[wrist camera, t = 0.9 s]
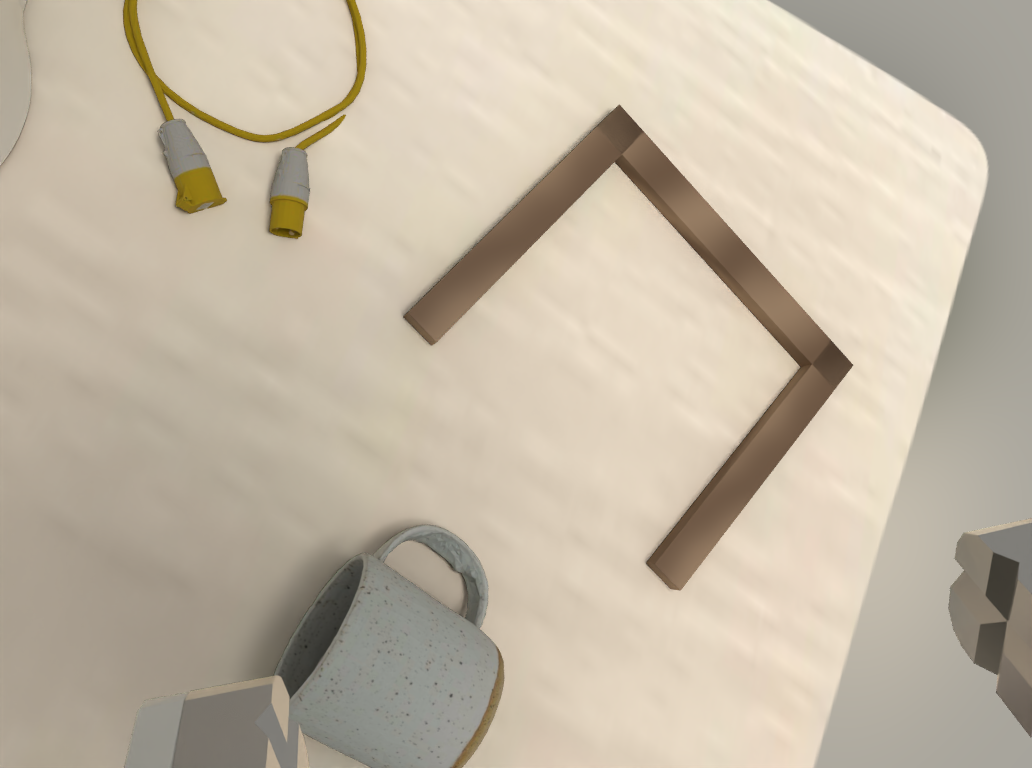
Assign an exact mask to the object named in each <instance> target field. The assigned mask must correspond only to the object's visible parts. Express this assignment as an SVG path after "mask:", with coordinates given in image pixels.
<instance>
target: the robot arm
mask: <svg viewBox="0 0 1032 768" xmlns="http://www.w3.org/2000/svg"><path fill="white" fill-rule="evenodd" d="M26 2H27V0H0V165H1V164H2V163H3V161H4V160H5V159H6V157H7V156H8V155H9V153H10V151H11V150H12V148H13V147H14V145H15V143H16V141H17V139H18V137H19V135H20V133H21V131H22V128H23V126H24V123H25V120H26V117H27V113H28V109H29V105H30V98H31V87H32V73H31V62H30V56H29V51H28V46H27V41H26V36H25V32H24V23H23V12H24V9H25V5H26ZM955 560H956V561H957V562H958V563H959V565H960V566H961V567H962V568H963V569H964V571H963V573H962V574H961V575H960V576H959V577H958V578H957V580H956V581H955V582H954V583H953V584H952V585H951V587H950V597H949V607H948V608H949V612H950V617H951V621H952V626H953V630H954V632H955V634H956V636H957V638H958V640H959V642H960V644H961V646H962V648H963V649H964V650H965V652H966V653H967V654H968V656H969V657H970V659H971V660H972V661H973V663H974V664H976V665H979V666H980V667H983V668H984V669H986V670H988V671H990V672H993V673H994V674H996V675H997V687H996V693H997V694H998V696H999V697H1000V698H1001V699H1002V701H1003V702H1004V703H1005V705H1006V706H1007V707H1008V708H1009V710H1010V711H1011V712H1012V714H1013V715H1014V716H1015V717H1016V719H1017V720H1018V721H1019V723H1020V724H1021V725H1022V727H1023V728H1024V729H1025V731H1026V732H1027V733H1028V734H1029V736H1030V737H1032V518H1030V519H1025V520H1020V521H1016V522H1011V523H1007V524H1002V525H997V526H993V527H988V528H984V529H979V530H974V531H970V532H965V533H963V535H962V536H961V538H960V539H959V541H958V542H957V547H956V553H955ZM288 716H289V695H288V692H287V690H286V687H285V685H284V682H283V680H282V677H280V676H277V675H275V676H269V677H264V678H258V679H253V680H247V681H242V682H236V683H231V684H225V685H220V686H214V687H209V688H203V689H198V690H192V691H190V692H187V693H181V694H175V695H170V696H164V697H159V698H153V699H147V700H145V701H144V703H143V704H142V706H141V707H140V709H139V710H138V712H137V715H136V719H135V723H134V727H133V732H132V736H131V740H130V744H129V748H128V753H127V757H126V761H125V765H124V768H309V760H308V754H307V750H306V745H305V741H304V737H303V734H302V731H301V728H300V725H299V723H297V722H295V721H293V720H292V719H290V718H288Z"/></svg>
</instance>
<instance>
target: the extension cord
mask: <svg viewBox="0 0 1032 768" xmlns="http://www.w3.org/2000/svg"><path fill="white" fill-rule="evenodd" d="M346 1H347V3H348V6H349V10H350V13H351V16H352V21H353V27H354V34H355V42H356V57H357V72H358V74H357V77H356V81H355V83H354V85H353V87H352V89H351V90H350V92H349V94H348V95H347V97H346V98H345V99H344V100H343V101H342V102H341V103H340V104H338V105H336V106H334V107H332V108H331V109H329V110H327V111H325V112H323V113H322V114H320V115H318V116H316V117H314V118H313V119H310V120H308V121H306V122H304V123H302V124H300V125H298V126H296V127H294V128H292V129H289V130H286V131H283V132H281V133H278V134H273V135H257V134H252V133H249V132H246V131H243V130H240V129H237V128H235V127H233V126H231V125H228V124H226V123H224V122H222V121H219V120H218V119H216V118H214V117H212V116H210V115H208V114H206V113H204V112H202V111H200V110H199V109H197V108H196V107H194V106H193V105H191V104H189V103H188V102H186V101H185V100H183V99H182V98H181V97H180V96H178V95H177V94H176V93H175V92H173V91H172V90H171V89H170V88H168V87H167V86H166V85H165V84H164V82H163V81H162V80H161V79H160V78H159V77H158V76H157V75H156V74H155V72H154V69H153V67H152V64H151V61H150V59H149V56H148V53H147V50H146V47H145V44H144V42H143V39H142V36H141V31H140V27H139V23H138V17H137V0H125V3H124V9H123V19H124V28H125V32H126V37H127V40H128V42H129V45H130V47H131V50H132V52H133V54H134V56H135V57H136V59H137V61H138V63H139V64H140V66H141V67H142V69H143V70H144V71H145V73H146V74H147V75H148V76H149V79H150V81H151V83H152V86H153V88H154V91H155V93H156V96H157V98H158V100H159V103H160V105H161V108H162V110H163V113H164V115H165V117H166V120H167V122H165V123H164V124H162V125H161V127H160V129H159V130H158V135H159V137H160V138H161V140H162V142H163V144H164V147H165V151H164V152H163V154H164V155H165V156H166V157H167V161H168V164H169V165H168V167H169V170H170V172H171V174H172V177H173V179H174V182H175V184H176V186H177V189H178V194H177V200H176V206H177V207H180V208H181V209H183V210H184V211H187V212H188V213H190V214H191V213H194V212H198V211H201V210H204V209H206V208H211V207H215V206H218V205H221V204H224V203H225V202H226V201H227V199H226V198H222V195H221V193H220V190H219V188H218V185H217V183H216V180H215V178H214V175H213V172H212V170H211V167H210V165H209V162H208V160H207V157H206V155H205V153H204V152H203V150H202V148H201V147H200V145H199V143H198V142H197V140H196V139H195V137H194V136H193V134H192V132H191V131H190V129H189V128H188V127H187V125H186V124H185V121H184V120H183V119H174V118H173V115H172V113H171V110H170V108H169V105H168V103H167V101H166V98H165V96H164V93H165V94H166V95H167V96H168V97H170V98H171V99H172V100H173V101H174V102H176V103H177V104H178V105H179V106H181V107H182V108H184V109H185V110H187V111H188V112H190V113H192V114H193V115H195V116H196V117H198V118H200V119H202V120H204V121H206V122H208V123H210V124H212V125H213V126H215V127H217V128H220V129H222V130H224V131H227V132H229V133H232V134H234V135H236V136H239V137H242V138H245V139H248V140H252V141H258V142H270V141H279V140H282V139H284V138H287V137H290V136H293V135H296V134H298V133H300V132H302V131H304V130H306V129H308V128H310V127H312V126H314V125H316V124H318V123H320V122H322V121H325V120H327V119H329V118H331V117H333V116H335V115H336V114H337V113H338V112H340V111H342V110H344V109H345V108H346V107H347V106H348V105H350V104H351V103H352V102H353V101H354V99H355V98H356V96H357V95H358V93H359V92H360V89H361V86H362V84H363V81H364V77H365V70H366V42H365V34H364V29H363V25H362V21H361V16H360V13H359V10H358V8H357V5H356V2H355V0H346ZM134 37H135V38H134ZM163 92H164V93H163ZM345 116H346V115H343V116H341V117H340V118H338V119H337V120H336V121H334V122H333V123H331V124H330V125H328V126H327V127H326V128H324V129H322V130H321V131H319V132H317V133H316V134H314V135H312V136H310V137H309V138H307V139H305V140H304V141H302V142H301V143H300V144H298V145H297V146H296V147H295V148H294V147H288V148H285V149H283V152H282V157H281V160H280V162H279V165H278V168H277V171H276V174H275V178H274V181H273V184H272V188H271V197H270V204H271V205H272V212H271V220H270V228H269V231H270V232H271V233H273V234H274V235H277V236H282V237H288V238H296V239H298V237H301V236H302V228H303V220H304V212H305V211H306V210H307V209H308V200H309V192H310V188H309V176H308V164H307V156H308V155H307V153H306V152H305V151H304V149H305V148H306V147H308V146H309V145H311V144H312V143H314V142H316V141H317V140H319V139H321V138H323V137H324V136H326V135H328V134H329V133H331V132H332V131H333V130H334V129H335V128H337V127H338V126H339V125H340V123H341V122H342V121H343V120H344V118H345ZM160 131H161V132H162V133H160Z"/></svg>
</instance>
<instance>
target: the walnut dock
mask: <svg viewBox="0 0 1032 768" xmlns="http://www.w3.org/2000/svg"><path fill="white" fill-rule="evenodd" d="M614 162H616V164H617V165H618V166H619V167H620V168H621V169H622V170H623V171H624V172H625V173H626V175H627V176H628V177H629V178H630V179H631V180H632V181H633V182H634V183H635V184H636V186H637V187H638V188H639V189H640V190H641V191H642V192H643V193H644V194H645V195H646V197H647V198H648V199H649V200H650V201H651V202H652V203H653V204H654V205H655V206H656V208H657V209H658V210H659V211H660V212H661V213H662V214H663V215H664V216H665V217H666V219H667V220H668V221H669V222H670V223H671V224H672V225H673V226H674V227H675V228H676V230H677V231H678V232H679V233H680V234H681V235H682V236H683V237H684V238H685V239H686V241H687V242H688V243H689V244H690V245H691V246H692V247H693V248H694V249H695V250H696V252H697V253H698V254H699V255H700V256H701V257H702V258H703V259H704V260H705V261H706V263H707V264H708V265H709V266H710V267H711V268H712V269H713V270H714V271H715V272H716V274H717V275H718V276H719V277H720V278H721V279H722V280H723V281H724V282H725V283H726V285H727V286H728V287H729V288H730V289H731V290H732V291H733V292H734V293H735V294H736V296H737V297H738V298H739V299H740V300H741V301H742V302H743V303H744V304H745V305H746V307H747V308H748V309H749V310H750V311H751V312H752V313H753V314H754V315H755V316H756V318H757V319H758V320H759V321H760V322H761V323H762V324H763V325H764V326H765V327H766V329H767V330H768V331H769V332H770V333H771V334H772V335H773V336H774V337H775V338H776V340H777V341H778V342H779V343H780V344H781V345H782V346H783V347H784V348H785V349H786V351H787V352H788V353H789V354H790V355H791V356H792V357H793V358H794V359H795V360H796V362H797V363H798V364H799V365H800V366H801V368H800V369H799V371H798V372H797V373H796V374H795V376H794V377H793V378H792V379H791V381H790V382H789V383H788V384H787V386H786V387H785V388H784V390H783V391H782V392H781V393H780V395H779V396H778V397H777V398H776V400H775V401H774V402H773V403H772V405H771V406H770V407H769V408H768V410H767V411H766V412H765V414H764V415H763V416H762V417H761V419H760V420H759V421H758V422H757V424H756V425H755V426H754V427H753V429H752V430H751V431H750V432H749V434H748V435H747V436H746V438H745V439H744V440H743V441H742V443H741V444H740V445H739V446H738V448H737V449H736V450H735V451H734V453H733V454H732V455H731V456H730V458H729V459H728V460H727V462H726V463H725V464H724V465H723V467H722V468H721V469H720V470H719V472H718V473H717V474H716V475H715V477H714V478H713V479H712V480H711V482H710V483H709V484H708V486H707V487H706V488H705V489H704V491H703V492H702V493H701V494H700V496H699V497H698V498H697V499H696V501H695V502H694V503H693V504H692V506H691V507H690V508H689V509H688V511H687V512H686V513H685V515H684V516H683V517H682V518H681V520H680V521H679V522H678V523H677V525H676V526H675V527H674V528H673V530H672V531H671V532H670V533H669V535H668V536H667V537H666V539H665V540H664V541H663V542H662V544H661V545H660V546H659V547H658V549H657V550H656V551H655V552H654V554H653V555H652V556H651V557H650V559H649V560H648V561H647V563H646V564H647V565H648V566H649V567H650V568H651V569H652V570H653V571H654V572H655V573H656V574H657V575H658V576H659V577H660V578H661V579H662V580H663V581H664V582H665V583H666V584H667V585H668V586H669V587H670V588H671V589H674V590H681V589H682V588H683V587H684V585H685V584H686V583H687V581H688V580H689V579H690V578H691V576H692V575H693V574H694V572H695V571H696V570H697V568H698V567H699V566H700V565H701V563H702V562H703V561H704V559H705V558H706V557H707V555H708V554H709V553H710V551H711V550H712V549H713V548H714V546H715V545H716V544H717V542H718V541H719V540H720V538H721V537H722V536H723V535H724V533H725V532H726V531H727V529H728V528H729V527H730V525H731V524H732V523H733V521H734V520H735V519H736V518H737V516H738V515H739V514H740V512H741V511H742V510H743V508H744V507H745V506H746V505H747V503H748V502H749V501H750V499H751V498H752V497H753V495H754V494H755V493H756V491H757V490H758V489H759V488H760V486H761V485H762V484H763V482H764V481H765V480H766V478H767V477H768V476H769V475H770V473H771V472H772V471H773V469H774V468H775V467H776V465H777V464H778V463H779V461H780V460H781V459H782V458H783V456H784V455H785V454H786V452H787V451H788V450H789V448H790V447H791V446H792V445H793V443H794V442H795V441H796V439H797V438H798V437H799V435H800V434H801V433H802V431H803V430H804V429H805V428H806V426H807V425H808V424H809V422H810V421H811V420H812V418H813V417H814V416H815V415H816V413H817V412H818V411H819V409H820V408H821V407H822V405H823V404H824V403H825V401H826V400H827V399H828V398H829V396H830V395H831V394H832V392H833V391H834V390H835V388H836V387H837V386H838V385H839V383H840V382H841V381H842V379H843V378H844V377H845V375H846V374H847V373H848V371H849V370H850V369H851V368H852V366H853V364H852V363H851V362H850V361H849V360H848V359H847V358H846V356H845V355H844V354H843V353H842V352H841V351H840V350H839V349H838V348H837V346H836V345H835V344H834V343H833V342H832V341H831V340H830V339H829V338H828V336H827V335H826V334H825V333H824V332H823V331H822V330H821V329H820V328H819V326H818V325H817V324H816V323H815V322H814V321H813V320H812V319H811V317H810V316H809V315H808V314H807V313H806V312H805V311H804V310H803V309H802V307H801V306H800V305H799V304H798V303H797V302H796V301H795V300H794V299H793V297H792V296H791V295H790V294H789V293H788V292H787V291H786V290H785V289H784V287H783V286H782V285H781V284H780V283H779V282H778V281H777V280H776V278H775V277H774V276H773V275H772V274H771V273H770V272H769V271H768V270H767V268H766V267H765V266H764V265H763V264H762V263H761V262H760V261H759V260H758V258H757V257H756V256H755V255H754V254H753V253H752V252H751V251H750V250H749V248H748V247H747V246H746V245H745V244H744V243H743V242H742V241H741V239H740V238H739V237H738V236H737V235H736V234H735V233H734V232H733V231H732V229H731V228H730V227H729V226H728V225H727V224H726V223H725V222H724V221H723V219H722V218H721V217H720V216H719V215H718V214H717V213H716V212H715V211H714V209H713V208H712V207H711V206H710V205H709V204H708V203H707V202H706V200H705V199H704V198H703V197H702V196H701V195H700V194H699V193H698V192H697V190H696V189H695V188H694V187H693V186H692V185H691V184H690V183H689V182H688V180H687V179H686V178H685V177H684V176H683V175H682V174H681V173H680V171H679V170H678V169H677V168H676V167H675V166H674V165H673V164H672V163H671V161H670V160H669V159H668V158H667V157H666V156H665V155H664V154H663V153H662V151H661V150H660V149H659V148H658V147H657V146H656V145H655V144H654V143H653V141H652V140H651V139H650V138H649V137H648V136H647V135H646V134H645V132H644V131H643V130H642V129H641V128H640V127H639V126H638V125H637V124H636V122H635V121H634V120H633V119H632V118H631V117H630V116H629V115H628V114H627V112H626V111H625V110H624V109H623V108H622V107H621V106H620V105H618V106H617V107H616V108H615V109H614V110H613V111H612V112H611V113H610V114H609V115H608V116H607V117H606V118H605V119H604V120H603V121H602V122H601V123H600V124H599V125H598V126H597V127H596V128H595V129H594V130H593V131H592V132H591V133H590V134H589V135H587V136H586V137H585V138H584V139H583V140H582V141H581V142H580V143H579V144H578V145H577V146H576V147H575V148H574V149H573V150H572V151H571V152H570V153H569V154H568V155H567V156H566V157H565V158H564V159H563V160H562V161H561V162H560V163H559V164H558V165H557V166H556V167H555V168H554V169H553V170H552V171H551V172H550V173H549V174H548V175H547V176H546V177H545V178H544V179H543V180H542V181H541V182H540V183H539V184H538V185H537V186H536V187H535V188H534V189H533V190H532V191H531V192H530V193H529V194H528V195H527V196H526V197H525V198H523V199H522V200H521V201H520V202H519V203H518V204H517V205H516V206H515V207H514V208H513V209H512V210H511V211H510V212H509V213H508V214H507V215H506V216H505V217H504V218H503V219H502V220H501V221H500V222H499V223H498V224H497V225H496V226H495V227H494V228H493V229H492V230H491V231H490V232H489V233H488V234H487V235H486V236H485V237H484V238H483V239H482V240H481V241H480V242H479V243H478V244H477V245H476V246H475V247H474V248H473V249H472V250H471V251H470V252H469V253H468V254H467V255H466V256H465V257H464V258H463V259H462V260H461V261H459V262H458V263H457V264H456V265H455V266H454V267H453V268H452V269H451V270H450V271H449V272H448V273H447V274H446V275H445V276H444V277H443V278H442V279H441V280H440V281H439V282H438V283H437V284H436V285H435V286H434V287H433V288H432V289H431V290H430V291H429V292H428V293H427V294H426V295H425V296H424V297H423V298H422V299H421V300H420V301H419V302H418V303H417V304H416V305H415V306H414V307H413V308H412V309H411V310H410V311H409V312H408V313H407V314H406V315H405V316H404V318H405V319H406V320H407V321H408V322H409V323H410V324H411V325H412V326H413V327H414V328H415V329H416V330H417V331H418V332H419V333H420V334H421V335H422V336H423V337H424V338H425V339H426V340H427V341H428V342H429V343H430V344H431V345H433V344H435V343H436V342H437V341H438V340H439V339H440V338H441V337H442V336H443V335H444V334H445V333H446V332H447V331H448V330H449V329H450V328H451V327H452V326H453V325H454V324H455V323H456V322H457V321H458V320H459V319H460V318H461V317H462V316H463V315H464V314H465V313H466V312H467V311H468V310H469V309H470V308H471V307H472V306H473V305H474V304H475V303H476V302H477V301H478V300H479V299H480V298H481V297H482V296H483V295H484V294H485V293H486V292H487V291H488V290H489V289H490V288H491V287H492V285H493V284H494V283H495V282H496V281H497V280H498V279H499V278H500V277H501V276H502V275H503V274H504V273H505V272H506V271H507V270H508V269H509V268H510V267H511V266H512V265H513V264H514V263H515V262H516V261H517V260H518V259H519V258H520V257H521V256H522V255H523V254H524V253H525V252H526V251H527V250H528V249H529V248H530V247H531V246H532V245H533V244H534V243H535V242H536V241H537V240H538V239H539V238H540V237H541V236H542V235H543V234H544V233H545V232H546V231H547V230H548V229H549V228H550V227H551V226H552V225H553V224H554V223H555V222H556V221H557V220H558V219H559V218H560V217H561V216H562V215H563V213H564V212H565V211H566V210H567V209H568V208H569V207H570V206H571V205H572V204H573V203H574V202H575V201H576V200H577V199H578V198H579V197H580V196H581V195H582V194H583V193H584V192H585V191H586V190H587V189H588V188H589V187H590V186H591V185H592V184H593V183H594V182H595V181H596V180H597V179H598V178H599V177H600V176H601V175H602V174H603V173H604V172H605V171H606V170H607V169H608V168H609V167H610V166H611V165H612V164H613V163H614Z"/></svg>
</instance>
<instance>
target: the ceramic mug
mask: <svg viewBox="0 0 1032 768" xmlns="http://www.w3.org/2000/svg"><path fill="white" fill-rule="evenodd" d="M408 540H415V541H418V542H421V543H425V544H426V545H428V546H429V547H431V548H432V549H433V550H434V551H436V552H437V553H438V554H440V555H441V556H442V557H443V558H445V559H446V560H447V561H448V562H449V563H450V564H451V565H452V566H453V568H454V570H455V571H457V572H460V573H462V575H463V577H464V579H465V582H466V586H467V591H468V603H467V613H466V617H465V618H463V617H462V616H460V615H459V614H457V613H456V612H454V611H452V610H451V609H449V608H447V607H446V606H444V605H442V604H441V603H439V602H438V601H437V600H435V599H434V598H432V597H431V596H430V595H428V594H427V593H425V592H424V591H423V590H421V589H420V588H418V587H417V586H416V585H414V584H413V583H411V582H410V581H408V580H407V579H405V578H404V577H402V576H401V575H399V574H398V573H397V572H395V571H394V570H392V569H391V568H390V567H388V566H387V565H386V564H384V561H385V558H386V557H387V555H388V554H389V553H390V552H391V551H392V550H393V549H394V548H396V547H397V546H398V545H399V544H401V543H402V542H404V541H408ZM487 605H488V582H487V579H486V575H485V572H484V569H483V567H482V565H481V563H480V561H479V559H478V558H477V556H476V555H475V554H474V552H473V551H472V550H471V549H470V548H469V547H468V545H467V544H466V543H465V542H464V541H462V540H461V539H460V538H458V537H457V536H456V535H454V534H453V533H451V532H449V531H448V530H446V529H443V528H441V527H438V526H433V525H420V526H415V527H412V528H409V529H406V530H404V531H402V532H400V533H398V534H397V535H395V536H394V537H392V538H391V539H390V540H388V541H387V542H386V543H385V544H384V545H382V546H381V547H380V548H379V549H378V550H377V551H376V552H375V553H374V555H373V556H372V555H370V554H368V553H361V554H359V555H356V556H355V557H353V558H352V559H350V560H349V561H348V562H347V563H346V564H345V565H344V566H343V567H342V568H341V569H340V570H339V571H338V572H336V574H335V575H334V576H333V578H332V579H331V580H330V581H329V582H328V583H327V584H326V586H325V587H324V588H323V589H322V591H321V592H320V594H319V595H318V597H317V599H316V600H315V602H314V603H313V605H312V606H311V607H310V609H309V610H308V611H307V613H306V614H305V616H304V617H303V619H302V621H301V622H300V624H299V626H298V628H297V629H296V631H295V633H294V634H293V636H292V637H291V639H290V641H289V644H288V646H287V647H286V649H285V651H284V653H283V656H282V658H281V660H280V662H279V664H278V666H277V668H276V671H275V673H274V676H275V675H277V676H280V677H282V680H283V682H284V685H285V687H286V690H287V692H288V695H289V716H288V718H290V719H292V720H293V721H295V722H297V723H299V725H300V728H301V731H302V733H304V734H306V735H308V736H309V737H311V738H313V739H315V740H317V741H319V742H321V743H323V744H325V745H327V746H329V747H331V748H333V749H335V750H337V751H339V752H341V753H343V754H345V755H347V756H349V757H351V758H354V759H356V760H358V761H359V762H361V763H363V764H365V765H367V766H369V767H370V768H462V767H463V766H464V765H465V764H466V763H467V761H468V760H469V759H470V758H471V756H472V755H473V754H474V752H475V751H476V749H477V748H478V746H479V745H480V743H481V742H482V740H483V738H484V736H485V735H486V733H487V731H488V729H489V727H490V724H491V722H492V720H493V718H494V715H495V713H496V710H497V707H498V704H499V701H500V698H501V694H502V690H503V684H504V662H503V659H502V656H501V653H500V651H499V649H498V648H497V646H496V645H495V644H494V642H493V641H492V640H491V639H490V638H489V637H488V636H487V635H486V634H485V633H484V632H483V631H481V630H480V627H481V626H482V623H483V620H484V618H485V615H486V609H487Z"/></svg>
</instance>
